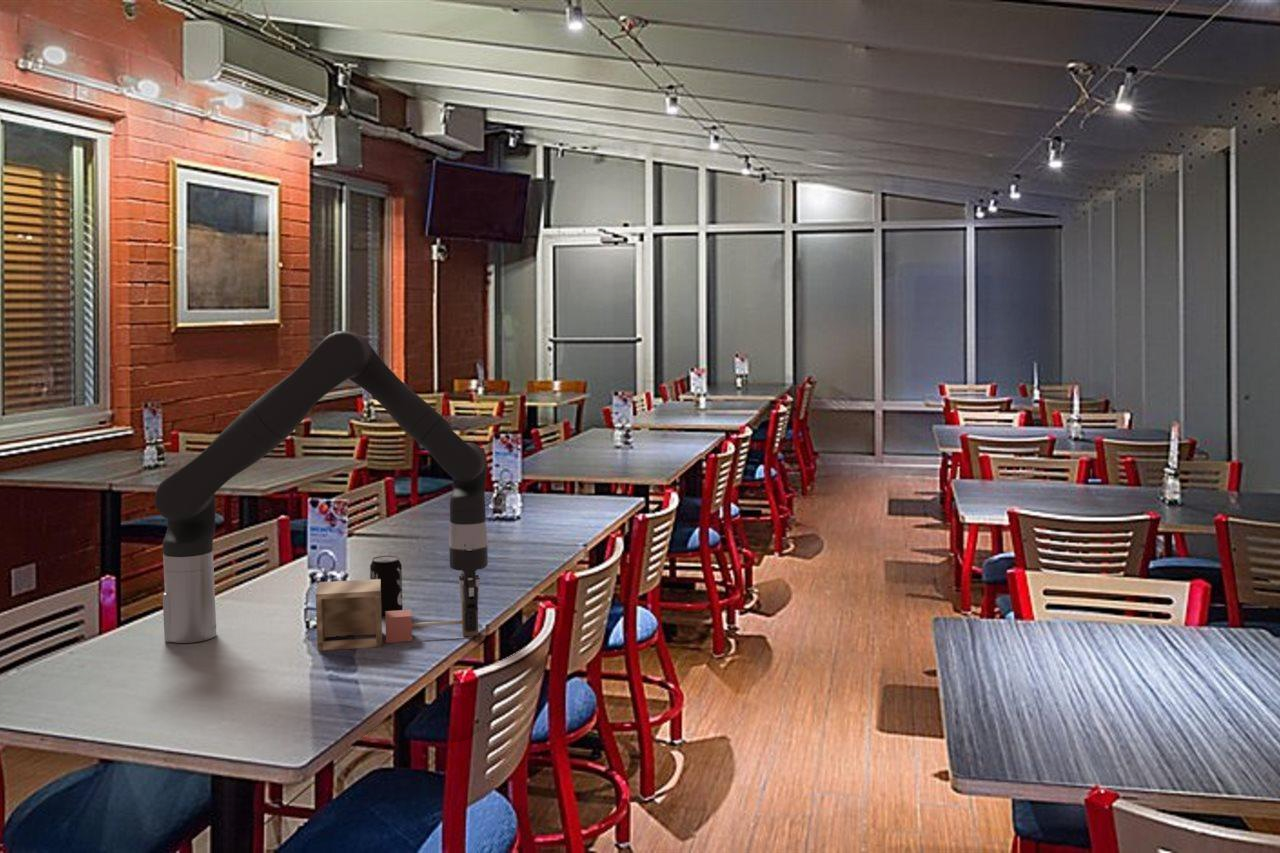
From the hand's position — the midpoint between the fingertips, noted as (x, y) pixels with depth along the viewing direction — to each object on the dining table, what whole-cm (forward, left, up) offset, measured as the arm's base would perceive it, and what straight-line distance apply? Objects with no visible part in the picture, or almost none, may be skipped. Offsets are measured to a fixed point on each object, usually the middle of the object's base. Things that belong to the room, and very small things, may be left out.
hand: (470, 628), depth 233 cm
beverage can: (-16, +20, -1) cm, 26 cm away
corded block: (-8, 0, -1) cm, 8 cm away
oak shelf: (-23, 0, -1) cm, 23 cm away
